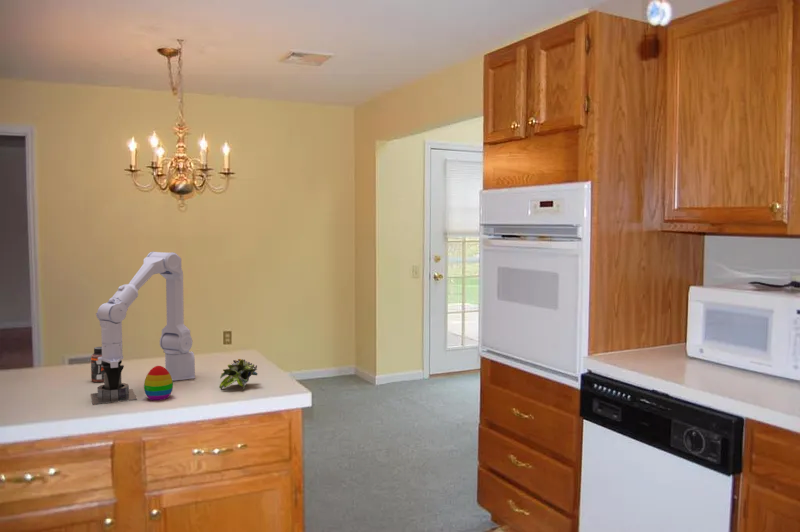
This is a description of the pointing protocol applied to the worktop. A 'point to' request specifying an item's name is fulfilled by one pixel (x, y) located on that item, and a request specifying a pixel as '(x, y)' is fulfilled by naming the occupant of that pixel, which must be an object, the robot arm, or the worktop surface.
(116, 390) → the gray square plate
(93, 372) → the supplement bottle
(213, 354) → the worktop surface
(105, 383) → the cap
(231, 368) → the leafy green plant
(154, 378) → the decorative egg
